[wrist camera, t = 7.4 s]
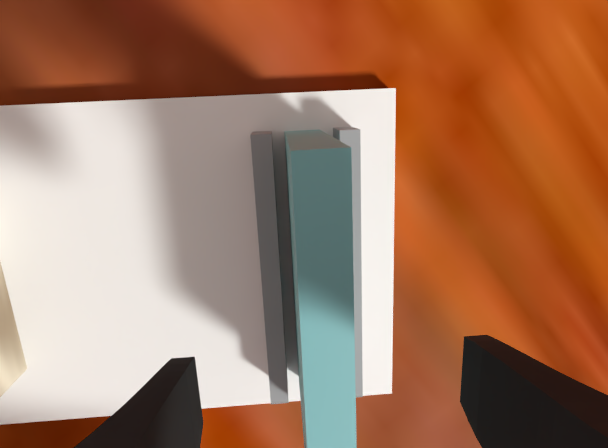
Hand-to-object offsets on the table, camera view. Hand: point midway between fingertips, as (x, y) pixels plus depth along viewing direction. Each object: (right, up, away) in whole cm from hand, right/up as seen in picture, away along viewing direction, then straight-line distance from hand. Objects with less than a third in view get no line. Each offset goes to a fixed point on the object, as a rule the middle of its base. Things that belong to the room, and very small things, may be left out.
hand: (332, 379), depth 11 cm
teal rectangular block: (-1, +2, +8) cm, 9 cm away
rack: (-9, +2, +9) cm, 13 cm away
